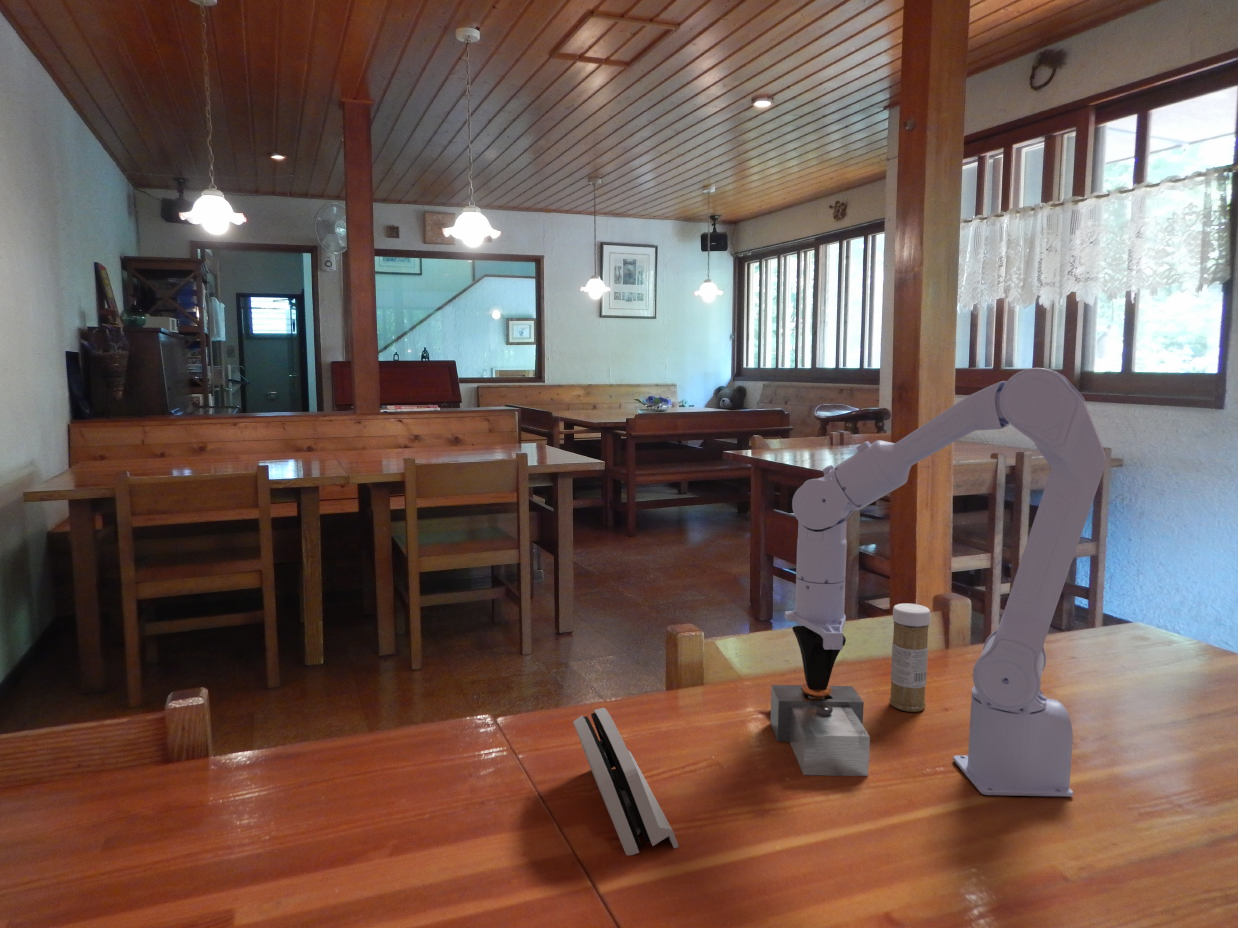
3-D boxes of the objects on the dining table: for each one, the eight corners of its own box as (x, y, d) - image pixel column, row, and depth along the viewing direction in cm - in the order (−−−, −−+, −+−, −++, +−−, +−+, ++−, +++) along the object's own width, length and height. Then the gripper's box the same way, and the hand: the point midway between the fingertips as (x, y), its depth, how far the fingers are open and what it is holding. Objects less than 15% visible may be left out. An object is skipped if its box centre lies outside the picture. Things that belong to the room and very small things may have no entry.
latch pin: (833, 728, 95) (834, 693, 95) (804, 727, 96) (805, 692, 95) (826, 716, 99) (827, 682, 98) (798, 715, 99) (799, 681, 98)
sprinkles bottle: (912, 697, 108) (917, 601, 107) (932, 711, 104) (937, 610, 102) (882, 700, 107) (886, 603, 106) (901, 714, 103) (905, 613, 101)
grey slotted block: (680, 849, 73) (645, 754, 71) (632, 872, 72) (596, 777, 70) (634, 763, 89) (605, 684, 88) (595, 781, 88) (565, 702, 87)
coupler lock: (868, 775, 87) (870, 731, 86) (803, 774, 87) (805, 730, 86) (848, 742, 95) (850, 701, 94) (789, 741, 95) (790, 700, 94)
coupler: (873, 760, 90) (875, 718, 90) (784, 759, 91) (785, 716, 90) (839, 707, 105) (841, 670, 104) (763, 705, 105) (764, 669, 105)
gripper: (776, 563, 103) (773, 665, 104) (799, 593, 88) (795, 711, 90) (831, 563, 102) (827, 666, 104) (863, 594, 88) (858, 713, 89)
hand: (816, 687), depth 97 cm, fingers closed, pressing on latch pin
